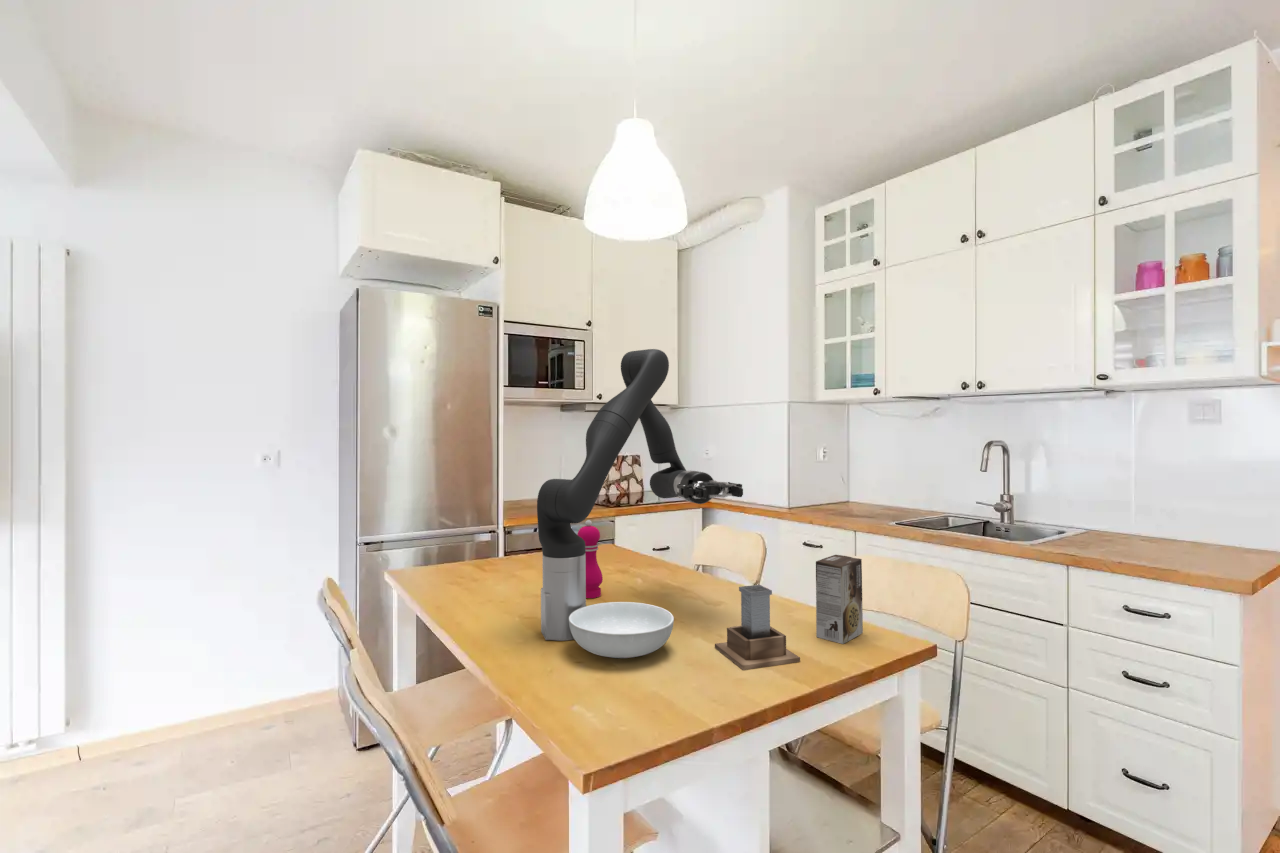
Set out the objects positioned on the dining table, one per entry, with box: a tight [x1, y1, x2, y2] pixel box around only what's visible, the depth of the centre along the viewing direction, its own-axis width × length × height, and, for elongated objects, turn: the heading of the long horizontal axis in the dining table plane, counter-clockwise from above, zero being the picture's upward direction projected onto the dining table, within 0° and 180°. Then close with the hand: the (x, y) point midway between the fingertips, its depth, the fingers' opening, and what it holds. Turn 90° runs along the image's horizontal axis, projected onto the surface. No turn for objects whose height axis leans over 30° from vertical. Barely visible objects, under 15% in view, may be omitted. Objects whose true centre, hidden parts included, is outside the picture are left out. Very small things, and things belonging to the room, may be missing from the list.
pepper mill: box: [577, 519, 604, 599], centre depth 162 cm, size 7×7×20 cm
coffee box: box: [815, 554, 864, 645], centre depth 130 cm, size 9×6×16 cm
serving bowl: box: [569, 601, 675, 659], centre depth 122 cm, size 21×21×7 cm
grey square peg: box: [738, 584, 773, 640], centre depth 119 cm, size 5×5×12 cm
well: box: [714, 625, 801, 671], centre depth 119 cm, size 12×12×4 cm
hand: (723, 493), depth 132 cm, fingers open, 8 cm apart
